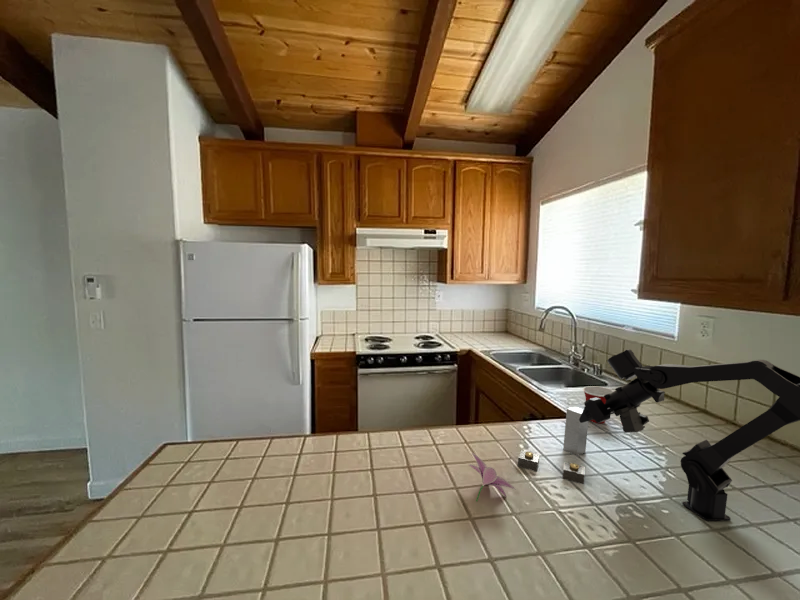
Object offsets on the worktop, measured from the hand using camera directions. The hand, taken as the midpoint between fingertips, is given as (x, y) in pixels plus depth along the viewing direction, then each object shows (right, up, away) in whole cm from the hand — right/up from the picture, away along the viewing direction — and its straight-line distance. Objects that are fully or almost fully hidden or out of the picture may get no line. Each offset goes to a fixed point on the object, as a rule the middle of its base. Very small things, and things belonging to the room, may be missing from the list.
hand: (589, 418), depth 111 cm
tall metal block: (-3, -11, +4) cm, 12 cm away
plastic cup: (+18, -11, +31) cm, 37 cm away
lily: (-35, -12, -22) cm, 43 cm away
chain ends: (-15, -11, -9) cm, 21 cm away
